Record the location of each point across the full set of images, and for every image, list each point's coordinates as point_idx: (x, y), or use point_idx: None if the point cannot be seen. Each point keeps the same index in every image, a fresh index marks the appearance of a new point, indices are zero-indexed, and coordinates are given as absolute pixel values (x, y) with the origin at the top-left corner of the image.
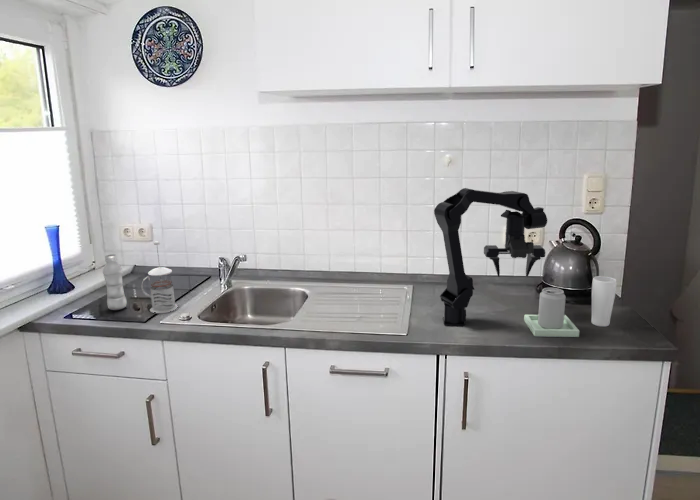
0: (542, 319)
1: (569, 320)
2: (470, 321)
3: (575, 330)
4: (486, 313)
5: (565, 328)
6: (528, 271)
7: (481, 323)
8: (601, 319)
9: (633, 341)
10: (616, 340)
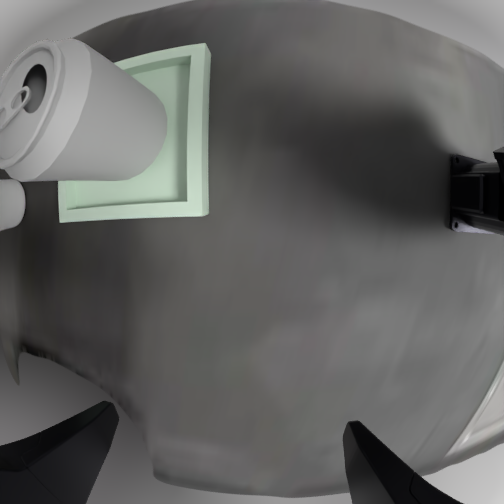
0: (148, 91)
1: None
2: (428, 201)
3: None
4: (352, 292)
5: None
6: (78, 421)
7: (395, 177)
8: (2, 179)
9: None
10: None
